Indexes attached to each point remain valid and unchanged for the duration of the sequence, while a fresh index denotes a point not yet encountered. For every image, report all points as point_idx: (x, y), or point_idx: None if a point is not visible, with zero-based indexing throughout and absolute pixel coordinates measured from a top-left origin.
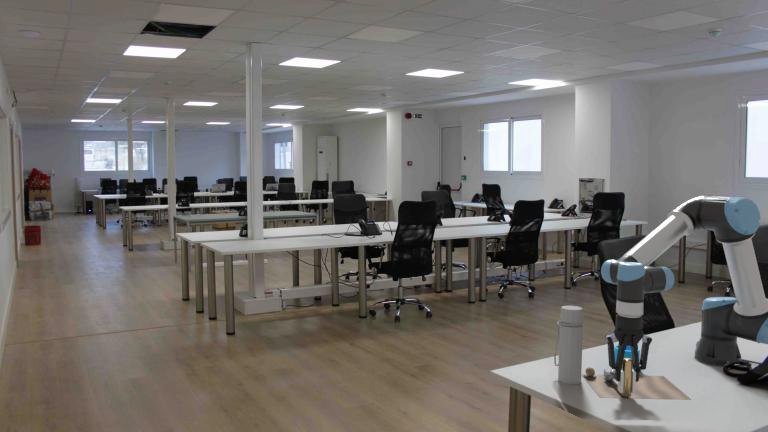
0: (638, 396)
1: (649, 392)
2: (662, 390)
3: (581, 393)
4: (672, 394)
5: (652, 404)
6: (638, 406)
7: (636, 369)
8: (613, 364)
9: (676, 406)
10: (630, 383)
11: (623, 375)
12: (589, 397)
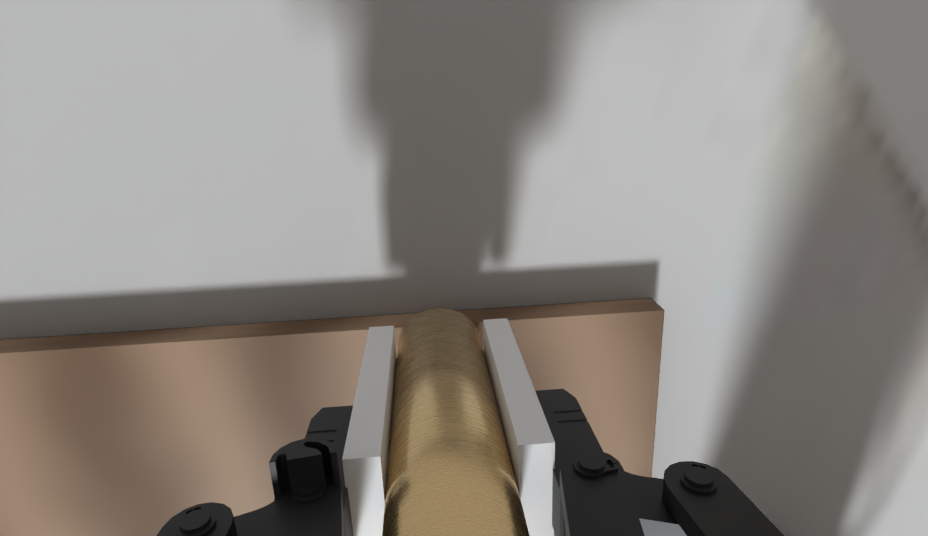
0: (325, 372)
1: (208, 472)
2: (87, 528)
3: (726, 438)
4: (13, 455)
5: (231, 286)
6: (362, 227)
7: (328, 492)
8: (720, 515)
9: (27, 265)
10: (415, 373)
11: (514, 416)
12: (696, 369)
